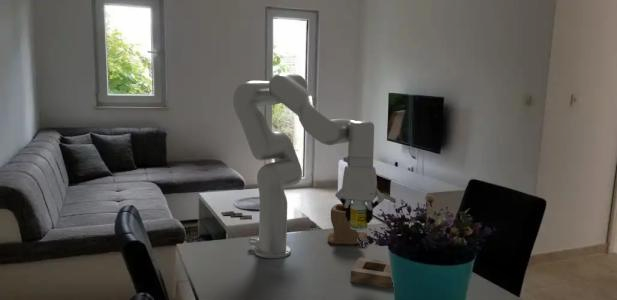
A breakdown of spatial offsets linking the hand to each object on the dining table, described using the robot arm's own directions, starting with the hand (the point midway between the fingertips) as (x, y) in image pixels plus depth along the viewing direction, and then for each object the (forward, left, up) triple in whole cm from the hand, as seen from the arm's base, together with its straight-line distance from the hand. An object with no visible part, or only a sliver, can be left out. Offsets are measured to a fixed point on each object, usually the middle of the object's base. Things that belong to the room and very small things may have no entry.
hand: (358, 220), depth 152 cm
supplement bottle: (0, 0, -3) cm, 3 cm away
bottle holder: (+5, +2, -18) cm, 19 cm away
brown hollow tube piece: (-10, +30, -18) cm, 36 cm away
